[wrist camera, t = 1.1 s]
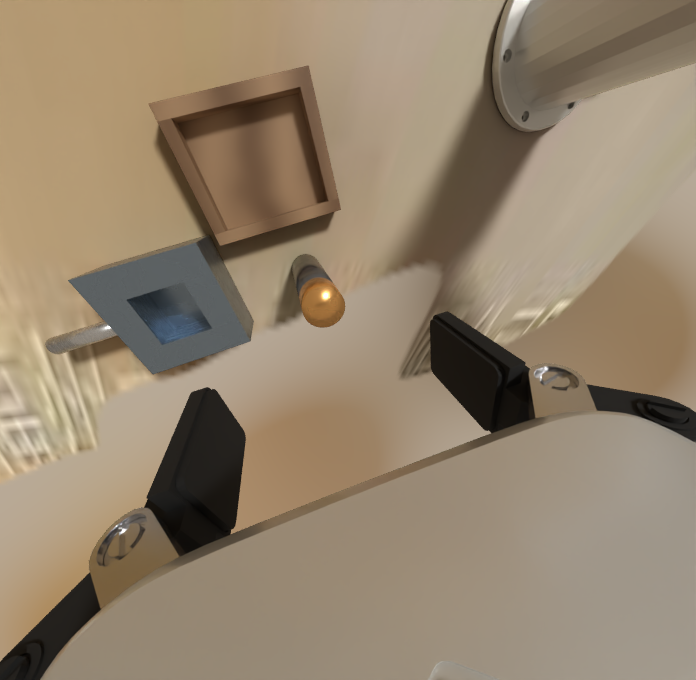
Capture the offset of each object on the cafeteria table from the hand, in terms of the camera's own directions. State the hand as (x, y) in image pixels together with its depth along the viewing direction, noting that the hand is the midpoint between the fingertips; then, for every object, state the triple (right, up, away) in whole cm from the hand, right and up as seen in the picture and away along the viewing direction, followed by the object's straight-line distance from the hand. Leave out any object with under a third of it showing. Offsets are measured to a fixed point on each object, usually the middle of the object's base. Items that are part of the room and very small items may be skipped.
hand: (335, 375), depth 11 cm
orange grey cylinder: (-4, +10, +18) cm, 21 cm away
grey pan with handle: (-20, +5, +16) cm, 26 cm away
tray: (-7, +17, +12) cm, 23 cm away
